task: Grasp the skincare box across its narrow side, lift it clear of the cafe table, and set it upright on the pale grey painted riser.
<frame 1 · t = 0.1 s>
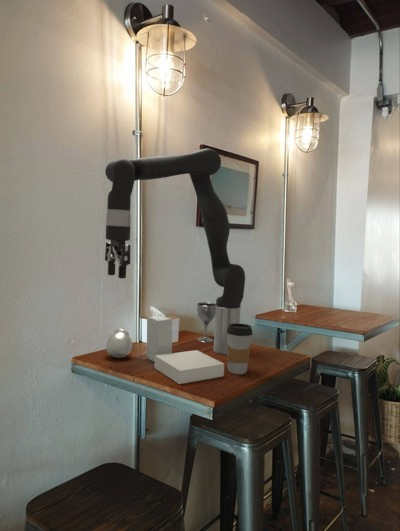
hand: (116, 276, 133), 29 cm above the table, fingers open, 8 cm apart
skincare box: (158, 360, 145), on the table
riser: (188, 371, 134), on the table
wine glass: (204, 340, 175), on the table
silver egg shape: (119, 357, 146), on the table
coffee cup: (237, 371, 137), on the table
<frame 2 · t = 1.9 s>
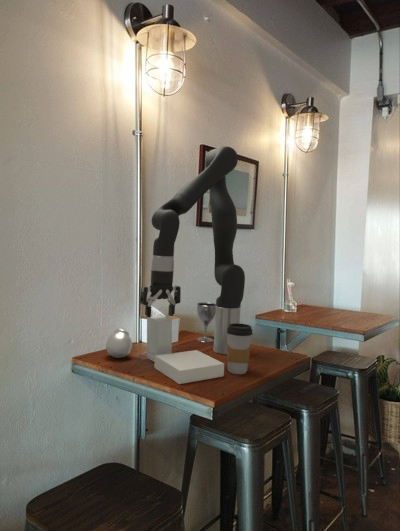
hand: (159, 316, 144), 15 cm above the table, fingers open, 8 cm apart
nothing on the table moved.
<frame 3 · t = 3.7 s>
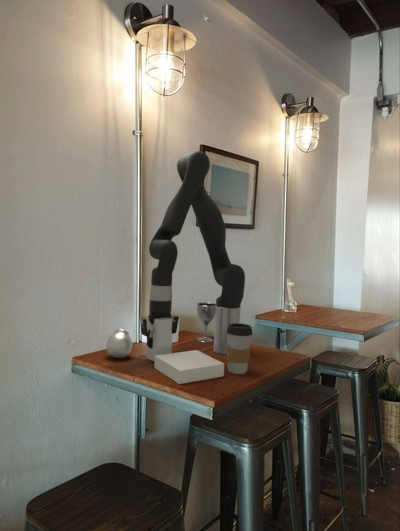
hand: (158, 346, 145), 5 cm above the table, fingers closed on skincare box, 6 cm apart
skincare box: (158, 360, 145), on the table, touching gripper
everything else where it was.
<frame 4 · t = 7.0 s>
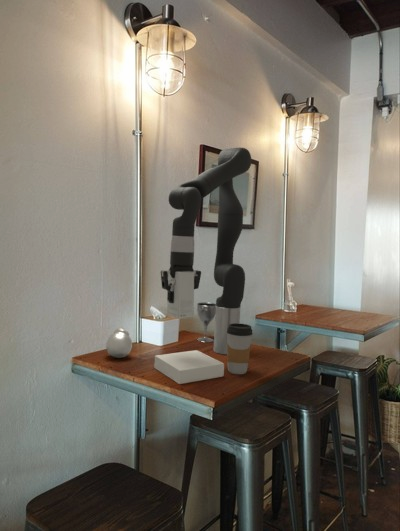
hand: (179, 302, 136), 22 cm above the table, fingers closed on skincare box, 6 cm apart
skincare box: (179, 316, 137), point 17 cm above the table, touching gripper
everything else where it was.
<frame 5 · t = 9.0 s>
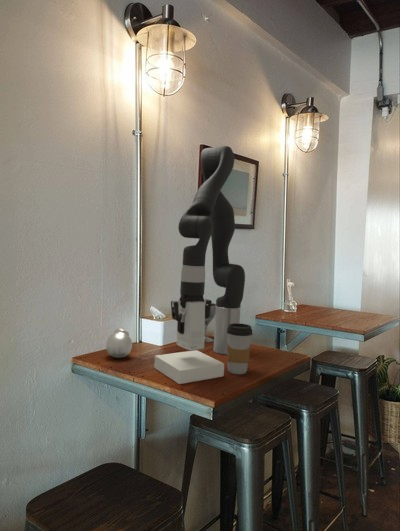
hand: (189, 332, 133), 13 cm above the table, fingers closed on skincare box, 6 cm apart
skincare box: (189, 347, 134), point 8 cm above the table, touching gripper
everything else where it was.
when the fingers open (10 cm above the table, at t = 10.5 s): skincare box drops 1 cm, resting on riser.
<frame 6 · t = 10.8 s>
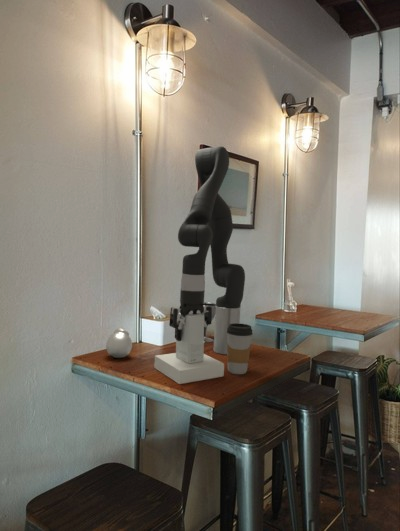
hand: (190, 339, 133), 11 cm above the table, fingers open, 8 cm apart
skincare box: (188, 360, 134), point 4 cm above the table, touching riser
everything else where it was.
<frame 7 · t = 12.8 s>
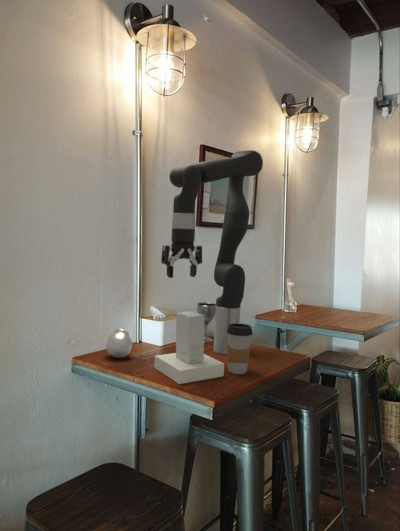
hand: (181, 277, 138), 29 cm above the table, fingers open, 8 cm apart
nothing on the table moved.
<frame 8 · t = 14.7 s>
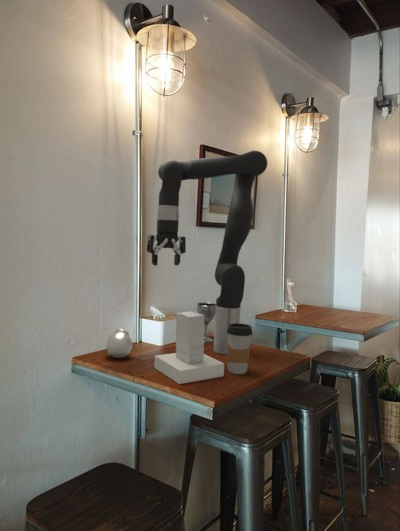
hand: (165, 265, 149), 32 cm above the table, fingers open, 8 cm apart
nothing on the table moved.
at the end: skincare box inside the target area on the riser (0.1 cm from its centre), point 3.8 cm above the riser's base; skincare box tilted 0°; the gripper is holding nothing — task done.
